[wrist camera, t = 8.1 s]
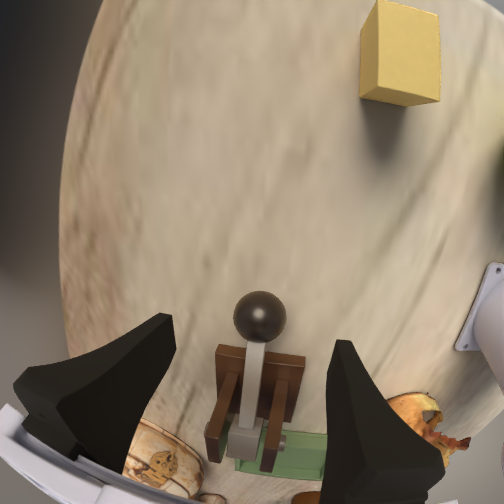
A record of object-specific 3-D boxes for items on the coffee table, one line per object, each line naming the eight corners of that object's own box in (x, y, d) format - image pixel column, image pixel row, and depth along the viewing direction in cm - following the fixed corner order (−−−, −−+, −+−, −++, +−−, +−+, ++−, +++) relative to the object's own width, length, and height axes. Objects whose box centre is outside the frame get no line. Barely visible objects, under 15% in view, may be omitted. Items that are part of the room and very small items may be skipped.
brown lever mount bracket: (218, 343, 24) (186, 418, 17) (305, 356, 23) (297, 438, 16) (220, 401, 27) (198, 466, 20) (291, 413, 26) (281, 482, 19)
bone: (468, 386, 21) (491, 452, 14) (423, 440, 25) (432, 498, 18) (364, 380, 23) (371, 464, 15) (330, 437, 27) (326, 504, 19)
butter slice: (408, 39, 12) (438, 15, 8) (407, 107, 14) (440, 102, 10) (360, 29, 13) (376, -2, 8) (358, 97, 15) (377, 86, 10)
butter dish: (343, 435, 26) (343, 450, 25) (324, 468, 30) (323, 481, 28) (239, 423, 28) (235, 438, 26) (238, 458, 32) (234, 470, 30)
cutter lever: (241, 282, 20) (230, 294, 17) (290, 289, 19) (288, 302, 16) (227, 433, 21) (218, 458, 18) (266, 440, 21) (261, 466, 18)
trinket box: (207, 474, 36) (193, 515, 29) (119, 442, 38) (99, 477, 31) (212, 438, 30) (193, 492, 23) (102, 397, 32) (73, 440, 25)
